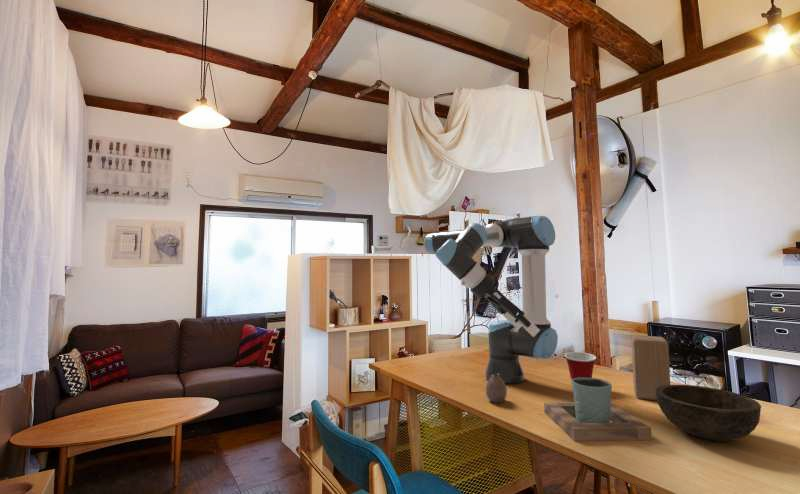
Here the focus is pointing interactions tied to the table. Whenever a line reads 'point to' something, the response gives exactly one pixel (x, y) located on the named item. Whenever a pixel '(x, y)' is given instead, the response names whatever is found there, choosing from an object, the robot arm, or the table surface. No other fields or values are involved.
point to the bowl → (709, 411)
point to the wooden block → (649, 365)
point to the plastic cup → (580, 364)
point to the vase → (496, 389)
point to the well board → (597, 424)
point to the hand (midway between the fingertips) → (528, 329)
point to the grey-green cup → (592, 400)
